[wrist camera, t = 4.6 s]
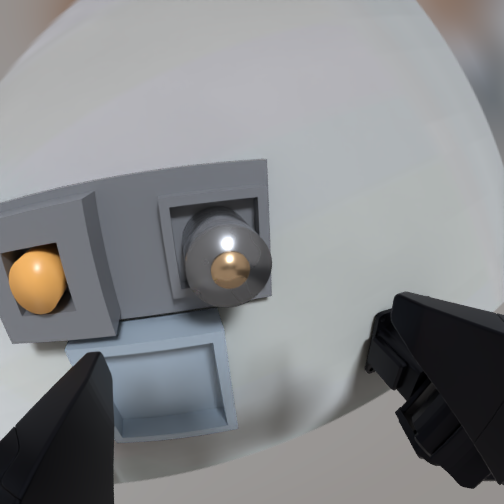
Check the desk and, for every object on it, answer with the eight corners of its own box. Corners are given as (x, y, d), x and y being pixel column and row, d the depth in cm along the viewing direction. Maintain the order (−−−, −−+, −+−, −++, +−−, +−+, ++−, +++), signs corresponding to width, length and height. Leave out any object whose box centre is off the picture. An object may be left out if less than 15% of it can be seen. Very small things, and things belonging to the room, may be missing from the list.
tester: (263, 159, 16) (283, 162, 13) (268, 291, 19) (285, 316, 16) (-5, 204, 12) (-32, 217, 9) (31, 323, 15) (15, 350, 12)
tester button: (65, 236, 13) (48, 253, 11) (79, 288, 14) (67, 311, 12) (21, 245, 13) (1, 261, 10) (36, 293, 14) (20, 316, 11)
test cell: (246, 202, 16) (272, 222, 12) (250, 265, 17) (274, 301, 13) (178, 210, 15) (180, 234, 11) (186, 275, 16) (193, 315, 12)
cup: (216, 307, 18) (224, 330, 16) (231, 405, 21) (238, 428, 19) (74, 326, 16) (64, 350, 14) (118, 419, 19) (117, 443, 17)
